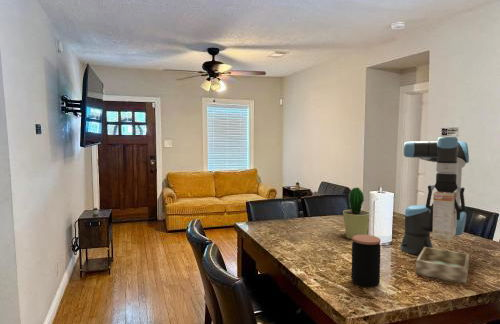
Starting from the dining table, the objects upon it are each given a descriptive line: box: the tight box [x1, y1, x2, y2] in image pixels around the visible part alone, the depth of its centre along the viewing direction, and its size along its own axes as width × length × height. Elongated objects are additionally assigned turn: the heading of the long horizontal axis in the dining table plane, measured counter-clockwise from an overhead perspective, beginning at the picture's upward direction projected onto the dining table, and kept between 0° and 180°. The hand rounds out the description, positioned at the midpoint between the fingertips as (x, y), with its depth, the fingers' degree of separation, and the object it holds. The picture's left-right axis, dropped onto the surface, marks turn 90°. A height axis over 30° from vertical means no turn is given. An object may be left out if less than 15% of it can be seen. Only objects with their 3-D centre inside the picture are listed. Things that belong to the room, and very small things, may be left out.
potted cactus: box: [342, 187, 370, 240], centre depth 195 cm, size 15×15×30 cm
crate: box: [415, 247, 470, 285], centre depth 145 cm, size 18×22×6 cm
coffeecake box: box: [431, 190, 457, 242], centre depth 144 cm, size 15×7×20 cm, turn 141°
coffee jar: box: [350, 234, 382, 289], centre depth 133 cm, size 11×11×18 cm
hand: (444, 225), depth 144 cm, fingers closed on coffeecake box, 7 cm apart
